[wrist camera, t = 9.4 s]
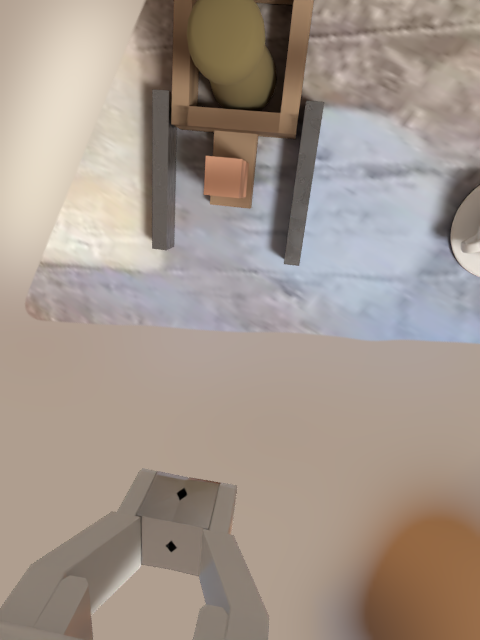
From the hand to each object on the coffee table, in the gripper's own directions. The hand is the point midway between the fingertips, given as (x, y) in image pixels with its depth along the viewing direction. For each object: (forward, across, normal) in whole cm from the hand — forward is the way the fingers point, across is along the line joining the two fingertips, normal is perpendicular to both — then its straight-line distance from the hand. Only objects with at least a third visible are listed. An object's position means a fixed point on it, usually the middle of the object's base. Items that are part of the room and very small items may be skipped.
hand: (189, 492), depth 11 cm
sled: (+29, +4, -16) cm, 33 cm away
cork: (+29, +4, -18) cm, 35 cm away
